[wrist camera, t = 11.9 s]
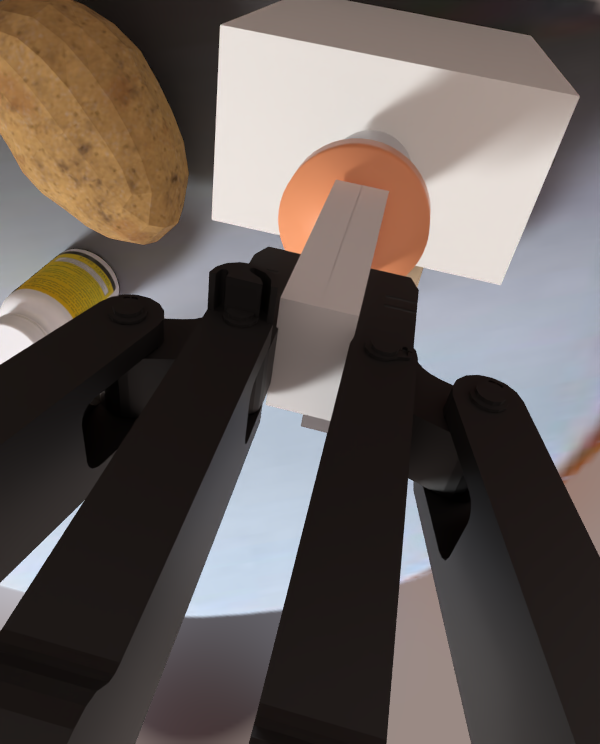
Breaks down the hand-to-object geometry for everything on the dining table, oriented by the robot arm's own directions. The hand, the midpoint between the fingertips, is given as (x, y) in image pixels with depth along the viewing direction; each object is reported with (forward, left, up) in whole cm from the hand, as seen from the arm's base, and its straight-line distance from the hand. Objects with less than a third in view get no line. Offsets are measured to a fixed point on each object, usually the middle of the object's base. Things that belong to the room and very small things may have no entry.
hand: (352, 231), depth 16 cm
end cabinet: (0, 0, -20) cm, 20 cm away
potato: (-1, -17, -20) cm, 26 cm away
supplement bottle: (+10, -25, -20) cm, 33 cm away
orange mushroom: (0, 0, -5) cm, 5 cm away
